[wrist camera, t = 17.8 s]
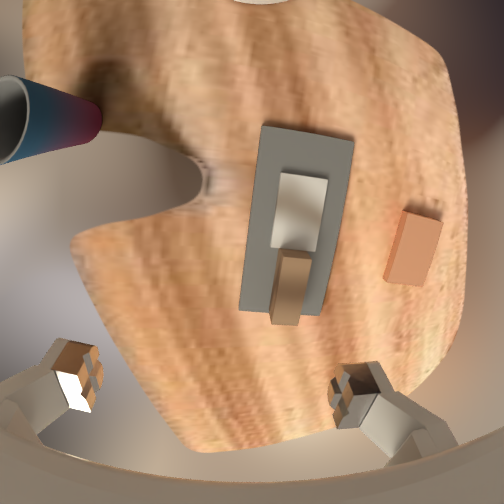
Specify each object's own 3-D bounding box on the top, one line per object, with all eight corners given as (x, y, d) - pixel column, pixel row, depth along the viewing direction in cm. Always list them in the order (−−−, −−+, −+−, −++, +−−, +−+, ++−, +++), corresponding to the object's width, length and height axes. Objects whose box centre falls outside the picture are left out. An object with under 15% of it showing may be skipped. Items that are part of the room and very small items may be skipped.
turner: (300, 311, 37) (306, 326, 34) (260, 309, 36) (262, 323, 33) (326, 179, 32) (335, 183, 29) (280, 172, 31) (285, 175, 28)
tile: (381, 276, 37) (400, 209, 34) (416, 281, 38) (435, 218, 35) (386, 282, 36) (407, 212, 33) (422, 287, 36) (443, 222, 33)
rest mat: (261, 125, 30) (262, 125, 29) (351, 141, 31) (354, 141, 30) (238, 307, 37) (238, 310, 36) (318, 312, 38) (319, 315, 37)
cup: (65, 93, 27) (-20, 79, 13) (114, 95, 28) (38, 71, 14) (55, 149, 29) (-32, 163, 15) (103, 154, 30) (22, 169, 16)
